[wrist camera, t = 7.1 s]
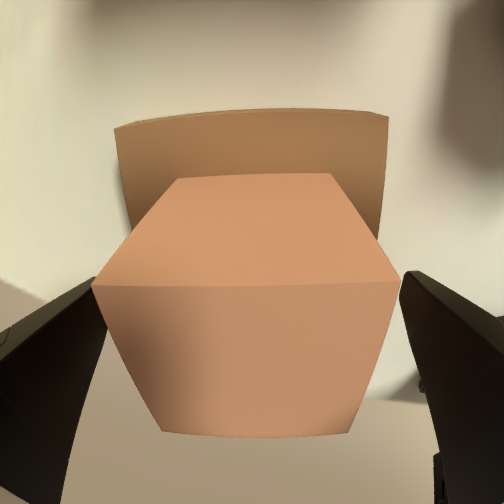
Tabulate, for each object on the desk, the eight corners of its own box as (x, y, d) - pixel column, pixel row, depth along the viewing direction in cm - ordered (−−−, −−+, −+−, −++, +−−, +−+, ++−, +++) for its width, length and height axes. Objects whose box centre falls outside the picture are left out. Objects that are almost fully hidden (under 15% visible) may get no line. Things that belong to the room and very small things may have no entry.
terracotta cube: (321, 297, 12) (347, 433, 7) (196, 299, 12) (161, 431, 7) (330, 173, 10) (401, 279, 4) (177, 178, 10) (90, 284, 5)
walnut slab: (350, 302, 15) (359, 330, 13) (170, 305, 15) (160, 332, 13) (369, 111, 10) (388, 116, 8) (136, 121, 11) (114, 128, 9)
